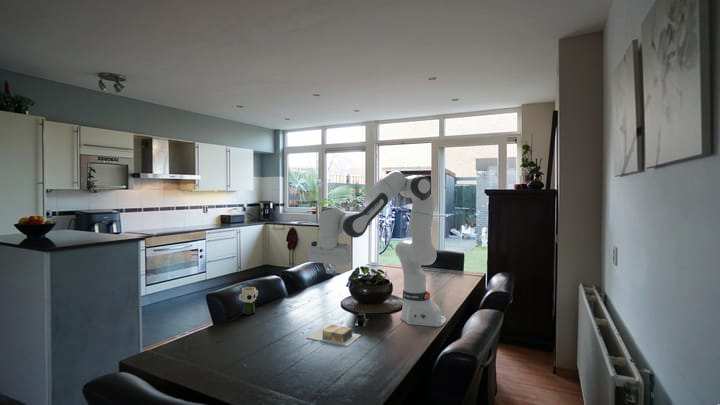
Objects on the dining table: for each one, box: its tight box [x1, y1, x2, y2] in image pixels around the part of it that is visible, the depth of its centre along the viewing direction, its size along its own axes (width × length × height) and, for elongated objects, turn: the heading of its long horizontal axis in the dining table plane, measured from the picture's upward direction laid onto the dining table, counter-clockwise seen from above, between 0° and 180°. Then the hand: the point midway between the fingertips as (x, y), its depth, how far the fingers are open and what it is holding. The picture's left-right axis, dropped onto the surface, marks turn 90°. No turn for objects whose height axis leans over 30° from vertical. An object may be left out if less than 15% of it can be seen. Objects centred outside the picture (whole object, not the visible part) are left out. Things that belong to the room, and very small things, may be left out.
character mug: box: [238, 286, 259, 315], centre depth 194 cm, size 11×7×13 cm, turn 140°
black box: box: [353, 312, 369, 327], centre depth 182 cm, size 12×7×5 cm, turn 169°
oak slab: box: [323, 324, 353, 343], centre depth 162 cm, size 4×8×10 cm
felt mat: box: [306, 327, 362, 347], centre depth 163 cm, size 20×13×1 cm, turn 65°
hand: (329, 273), depth 168 cm, fingers closed
